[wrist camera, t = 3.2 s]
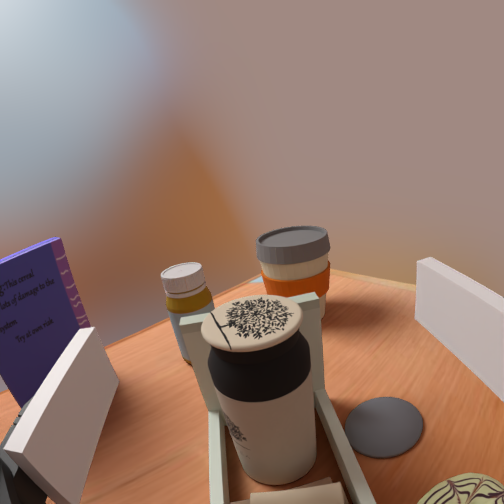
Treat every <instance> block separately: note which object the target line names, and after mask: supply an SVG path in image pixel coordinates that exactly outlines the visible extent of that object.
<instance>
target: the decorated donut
mask: <svg viewBox="0 0 504 504" xmlns="http://www.w3.org/2000/svg"><path fill="white" fill-rule="evenodd" d="M417 504H504V486H503V485H502V484H501V483H500V482H499V481H497V480H495V479H493V478H491V477H489V476H487V475H483V474H477V473H465V474H461V475H457V476H455V477H452V478H449V479H447V480H445V481H443V482H441V483H439V484H437V485H435V486H434V487H433V488H432V489H431V490H430V491H429V492H427V493H426V494H425V495H424V496H423V497H422V498H421V499H420V500H419V502H418V503H417Z"/></svg>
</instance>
